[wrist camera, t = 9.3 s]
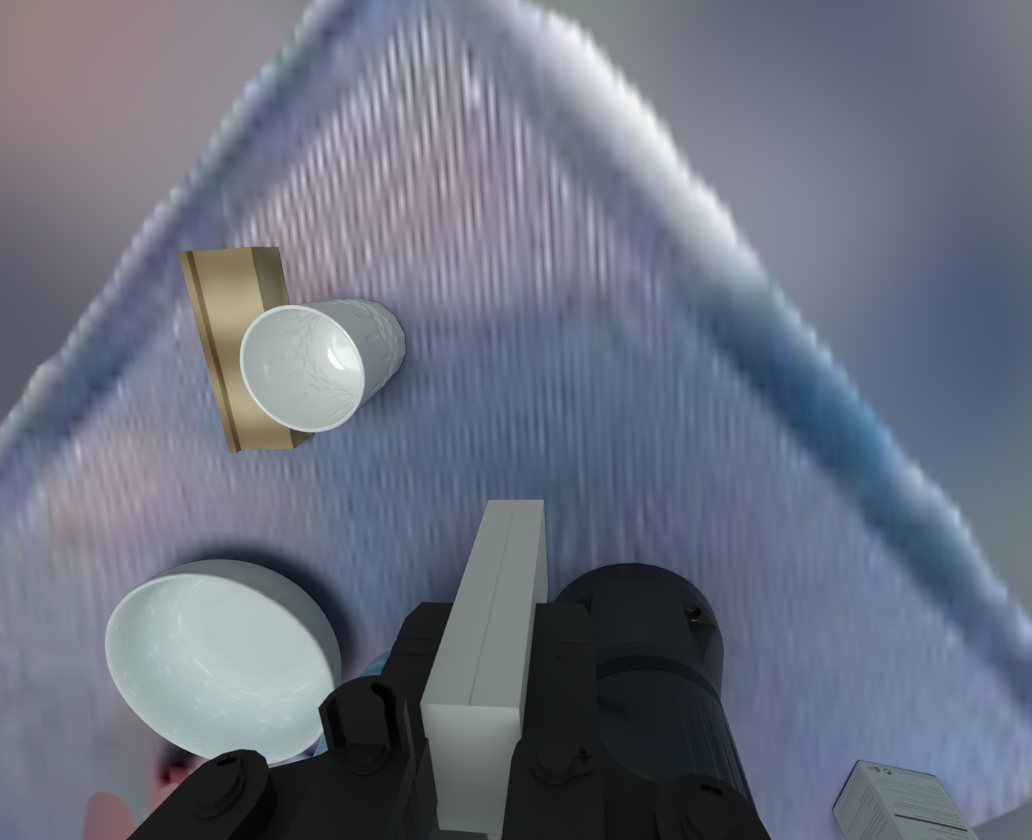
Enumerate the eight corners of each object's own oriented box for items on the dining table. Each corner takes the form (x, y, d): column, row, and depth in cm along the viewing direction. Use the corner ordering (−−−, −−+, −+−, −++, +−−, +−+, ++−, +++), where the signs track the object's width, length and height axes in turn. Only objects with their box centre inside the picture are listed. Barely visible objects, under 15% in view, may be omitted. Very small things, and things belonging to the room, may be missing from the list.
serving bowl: (386, 699, 52) (359, 763, 46) (205, 708, 56) (157, 769, 49) (330, 521, 46) (290, 565, 40) (130, 542, 49) (63, 586, 43)
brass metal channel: (314, 433, 43) (289, 451, 39) (259, 434, 44) (229, 452, 40) (278, 247, 39) (245, 247, 35) (217, 251, 39) (178, 251, 35)
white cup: (431, 367, 40) (387, 404, 31) (348, 404, 42) (284, 450, 33) (382, 273, 38) (320, 282, 29) (298, 316, 40) (214, 338, 31)
